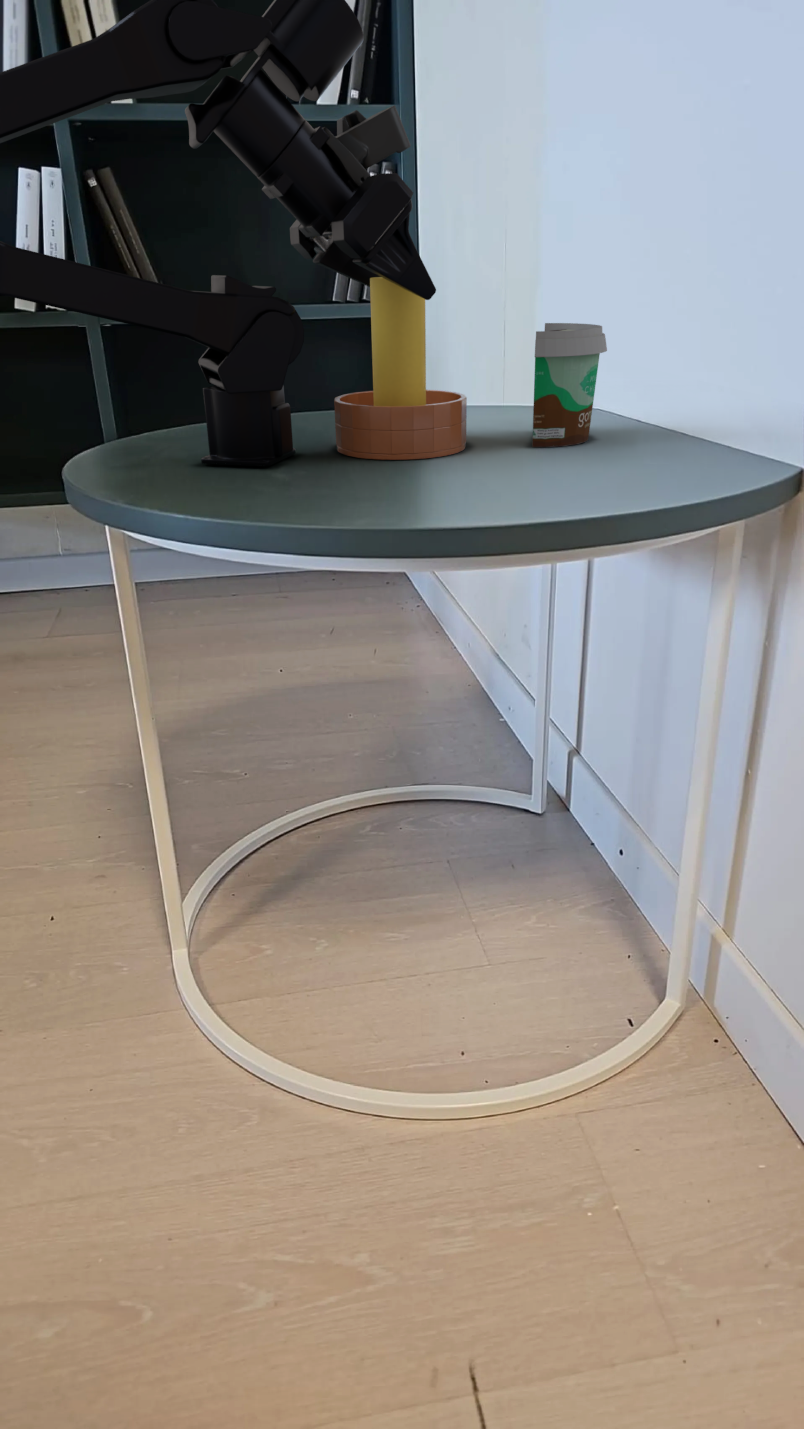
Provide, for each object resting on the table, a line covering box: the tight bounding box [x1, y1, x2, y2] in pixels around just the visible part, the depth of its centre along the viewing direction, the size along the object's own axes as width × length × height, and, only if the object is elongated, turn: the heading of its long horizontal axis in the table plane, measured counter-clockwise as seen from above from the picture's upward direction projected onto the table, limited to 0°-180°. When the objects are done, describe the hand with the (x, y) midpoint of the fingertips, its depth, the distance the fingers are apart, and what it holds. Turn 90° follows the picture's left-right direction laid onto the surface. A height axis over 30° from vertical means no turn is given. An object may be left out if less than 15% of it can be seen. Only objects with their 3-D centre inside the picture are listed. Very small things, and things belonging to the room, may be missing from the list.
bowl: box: [333, 388, 468, 461], centre depth 89 cm, size 12×12×4 cm
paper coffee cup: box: [531, 322, 608, 448], centre depth 90 cm, size 12×6×10 cm, turn 168°
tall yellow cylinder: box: [369, 277, 427, 406], centre depth 86 cm, size 5×5×14 cm
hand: (413, 294), depth 84 cm, fingers open, 9 cm apart
